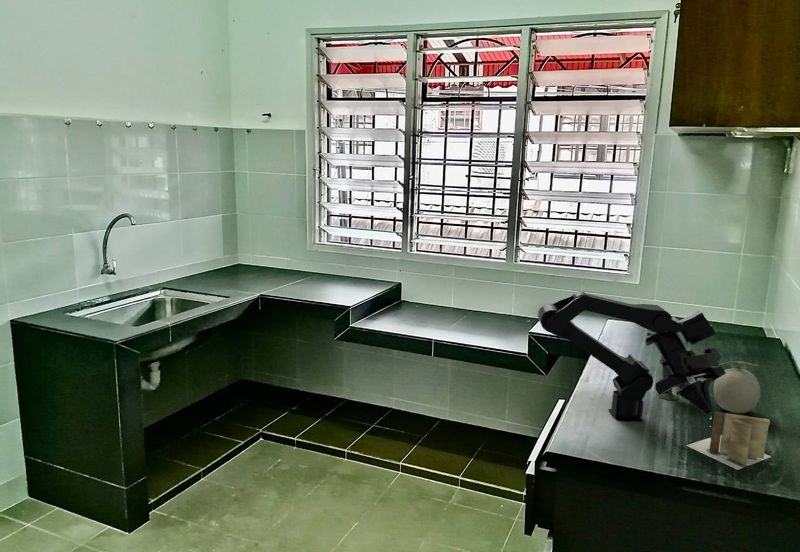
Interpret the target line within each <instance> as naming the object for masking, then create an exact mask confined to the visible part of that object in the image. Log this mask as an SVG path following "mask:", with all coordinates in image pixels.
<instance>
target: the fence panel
mask: <svg viewBox="0 0 800 552" xmlns="http://www.w3.org/2000/svg"><path fill="white" fill-rule="evenodd" d="M723 414H724V416H723V423H722V430H721V435H722V436H721V443H720V452H724V453H728V452H729V445H730V438H731V431H732V424H733V423H732V420H734V419H738V420H740V421H743V422H745V423H748V424H750V425H753V428H752V429H751V436H750V442H749V449H748V456H749V457H755V458H761V459H764V454H765V452H766V451H765V450H766V444H767V439H768V438H767V437H768V432H769V426H770V424H771V421H770V419H769V418H761V417H754V416H748V415H742V414H736V413H726V412H723Z"/></svg>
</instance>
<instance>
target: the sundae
mask: <svg viewBox="0 0 800 552" xmlns="http://www.w3.org/2000/svg"><path fill="white" fill-rule="evenodd" d="M660 357H661V359H659V362H660V365H661V367H662V368H661V369H662V372H661V373H662V379H663V378H665V377H667V376H668V375H672V373H671V371H670V369H669V368H668V367H664V366H663V365H662V363H664V362H665V361H664V359H663V357H662V356H661V355H660ZM659 397H660V398H661V399H663V400H666V401H670V402H671V401H672V402H675V401H679V399H680V398H679V397H678V395H676V394H673V388H671V389H670V390H668V393H667V394H664V395H660V396H659Z"/></svg>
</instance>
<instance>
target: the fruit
mask: <svg viewBox="0 0 800 552" xmlns="http://www.w3.org/2000/svg"><path fill="white" fill-rule="evenodd" d="M727 364H728V365H729V364H735V366H736V367H733V368H727V369H724V371H725V372H726V374H724V375H723V376H721V377H719V378H717V379H716V380H714V384H713V395H714V399H715V402H716V403H717V405H718V406H719V407H720V408H721V409H723V410H725V411H726V412H729V413H731V414H737V415H741V414H746V413H748V412H750V411H752V410H753V409H754V408H756V406H757V405H758V402H759V400H760V398H761V386H760V382H759V380H758V378H756V377H755V375H754V374H752V373H751V372H750V371H749V370H746V369H743V368H741V365H747V366H754V367H759V364H754V363H750V362H746V361H742V360H741V361H740V360H735V361H734V360H732V361H727V362H721V363H719V366H724V365H727Z"/></svg>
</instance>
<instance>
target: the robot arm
mask: <svg viewBox="0 0 800 552" xmlns="http://www.w3.org/2000/svg"><path fill="white" fill-rule="evenodd" d="M585 311H586V312H591V313H596V314H599V315H603V316H606V317H607V316H608V317H612V318H616V319H620V320H623V321H629V322H631V323H634V324H636V325H638V326H640V327H642V328H643V329H646V330H648V331H650V332H654V333H650V332H647V334H646V339H645V344H644V345H645V346H646V347H649V346H650V345H653V344H654V345H655V347H656V349H657V350H658V352H659V354H660V357H661V356H662V357H663V359H664V361H665V362H664V363H662V364H661V366H662V365H663V366H664V367H668V368H669V369H670V371H671V373H672V375H668V376H667V377H665V378H663V377H662V379H661V380H659V381H657V382H656V383H655V386H654V389H655V391H656V393H657V394H658V396H659V397H660V395H664V394H667V393H668V390H670V389H671V388H672V389H673V388H677V387H678V389H679V391H677V392H676V393H675V395H676V396H681V397H683V399H685V400H687V401H689V402H690V403H692V404H693V405H694V406H696V407H697V408H698V409H700V410H701V411H703V412H704V413H705V414H706V415H710V414H712V413H713V412H714V410H713V407H712V405H713V404H712V401H711V398H710V392H709V387H710V384H711V383H712V382H715V380H716V379H717V378H719V377H721V376H723V375H724V374H726V372H725V371H724V370H725V369H724V368H723V365H720V366H719V364H720V363H719V362H720V361H721V359H722V356H721V354H720V353H719V351H718V350H717V349H716V348H715V347H711V348H705V349H704V352H703V353H701V354H695V352H694V351H693V350H688V349H687V347H686V346H685V345H684V344H688V343H689V345H691V346H695V345H697V344H699V343H701V342H704V341H706V340H709V339H710V338H714V337H715V336H716V333H715V329H714V328H713V326H712V324H711V323H710V322H709V320H708V319H707V318H706V317H705V315H704V313H703V312H702V311H700V310H698V311H696V312H694V313H693V314H691V315H689V316H686V317H684V318H682V319H680V320H679V319H678V318H676V317H675V316H672V315H671V314H670V312H668V311H667V310H666V309H665V308H664V307H661V306H659V305H658V304H650V303H647V304H646V303H637V304H635V303H634V304H633V303H627V302H623V301H620V300H619V301H618V300H615V299H611V298H607V297H602V296H598V295H593V294H591V293H587V292H585V291H577V292H574V293H573V294H572V295H569V296H566V297H565V298H562V299H559V300H557V301H555V302H553V303H547V304H544V305H542V306H541V307H540V308H539V309H538V312H537V318H538V321H539V323H540V325H541V327H542V328H543V330H544V331H546V332H548V333H549V334H552V335H554V336H556V337H558V338H562V339H565V340H568V341H570V342H571V343H572V344H574V345H575V346H577V347H579V348H580V349H581V350H583V351H584V352H586V353H587V354H589V355H590V356H591V357H593V358H594V359H596V360H597V361H599V362H600V363H602V364H603V365H605V366H606V367H607V368H609V369H610V370H612V371H613V372H614V373H615V374H616V375H617V376H615V377H614V378H613V379H612V383H613V386H614V388H615V390H613V391H612V399H611V400H612V401H611V408H609V409H608V412H609V413H610V415H611V416H612V417H613V418H614V420H615V421H616V422H638V423H639V422H640V423H641V422H642V423H643V418H642V417H643V414H644V413H643V411H644V403H645V402H644V401H643V399H644V397H645V396H646V394H647V392H649V390H652V387H653V385H654V377H653V376H652V374H651V373H650V371H651V370H650V369H649V368H648V367H647V366H646V365H645V363H643V361H641V360H638V359H636V358H635V357H634V355H632V354H631V353H629V354H628V356H627V357H625V356H622V355H619V354H618V353H616V352H615V351H614V350H612V349H611V348H610V347H607V346H606V345H605V344H604V343H602V342H600V341H599V340H598V339H597V338H595V337H593V336H592V335H590V334H589V333H587V332H585V330H583V329H582V328H580V327H579V326H577V325H576V324H575V323H574V322H573V321H572V320H574V319H575V318H576V317H577V316H579V315H580V314H581V313H583V312H585ZM678 334H679V335H678Z"/></svg>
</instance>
